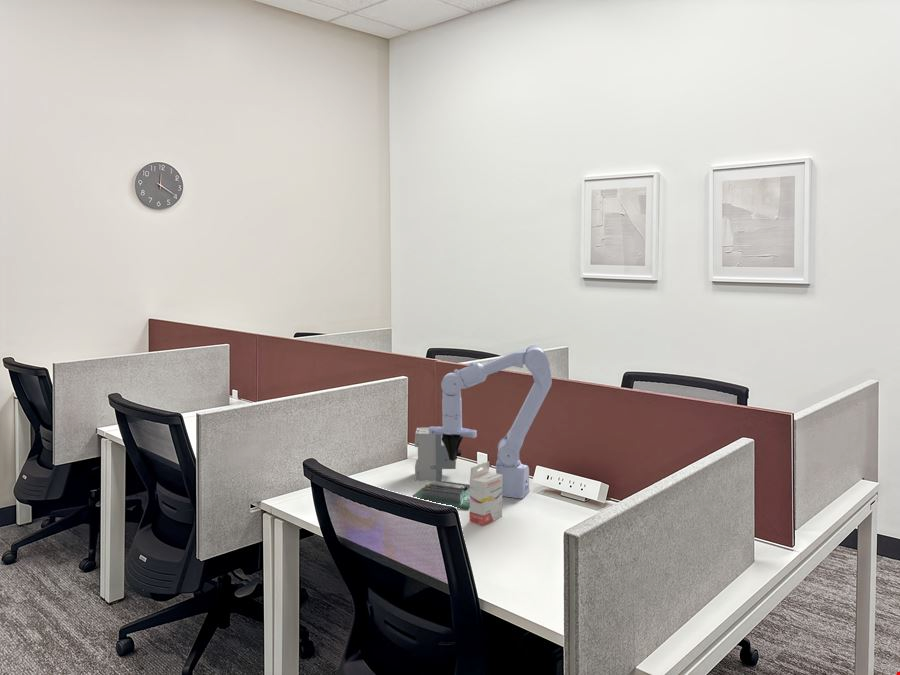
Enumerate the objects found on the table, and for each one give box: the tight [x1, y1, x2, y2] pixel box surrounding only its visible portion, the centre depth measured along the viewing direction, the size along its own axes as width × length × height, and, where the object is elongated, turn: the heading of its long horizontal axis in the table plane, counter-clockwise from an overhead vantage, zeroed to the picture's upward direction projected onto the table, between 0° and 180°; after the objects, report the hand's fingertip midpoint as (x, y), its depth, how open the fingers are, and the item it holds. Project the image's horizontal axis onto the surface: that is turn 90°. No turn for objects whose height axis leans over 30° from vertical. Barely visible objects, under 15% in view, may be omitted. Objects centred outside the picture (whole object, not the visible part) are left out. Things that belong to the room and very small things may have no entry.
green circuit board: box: [411, 480, 470, 511], centre depth 202 cm, size 18×13×4 cm
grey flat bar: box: [428, 481, 466, 490], centre depth 201 cm, size 10×3×1 cm, turn 68°
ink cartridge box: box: [469, 461, 503, 527], centre depth 185 cm, size 9×5×15 cm, turn 141°
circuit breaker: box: [414, 427, 462, 482], centre depth 221 cm, size 8×14×15 cm, turn 89°
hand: (452, 459), depth 206 cm, fingers closed
